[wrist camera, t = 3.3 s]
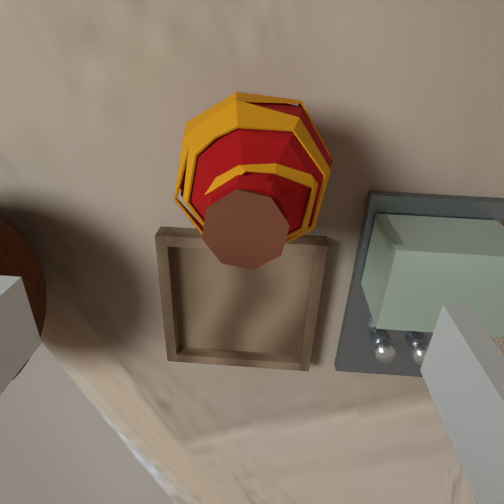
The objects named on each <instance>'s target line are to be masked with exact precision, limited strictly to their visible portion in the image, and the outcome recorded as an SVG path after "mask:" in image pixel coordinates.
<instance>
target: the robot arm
mask: <svg viewBox="0 0 504 504" xmlns="http://www.w3.org/2000/svg"><path fill="white" fill-rule="evenodd" d="M40 344H41V339H40V336H39V333H38V330H37V327H36V323H35V320H34V317H33V314H32V310H31V307H30V304H29V301H28V297H27V294H26V291H25V288H24V285H23V281H22V278H21V277H16V276H1V275H0V395H1V394H2V392H3V391H4V389H5V388H6V387H7V386H8V384H9V383H10V382H11V381H12V380H13V378H14V377H15V376H16V375H17V373H18V372H19V371H20V369H21V368H22V367H23V366H24V364H25V363H26V362H27V361H28V359H29V358H30V357H31V355H32V354H33V353H34V352H35V350H36V349H37V348H38V346H39V345H40ZM420 371H421V374H422V376H423V378H424V381H425V383H426V385H427V388H428V390H429V392H430V394H431V397H432V399H433V401H434V404H435V406H436V408H437V411H438V413H439V415H440V418H441V420H442V422H443V425H444V427H445V429H446V432H447V434H448V436H449V439H450V441H451V443H452V446H453V448H454V450H455V453H456V455H457V457H458V460H459V462H460V464H461V467H462V469H463V471H464V474H465V476H466V478H467V481H468V483H469V485H470V488H471V490H472V492H473V494H474V497H475V499H476V501H477V504H504V355H503V353H502V352H501V351H500V349H499V348H498V347H497V345H496V344H495V342H494V341H493V340H492V338H491V337H490V335H489V334H488V333H487V331H486V330H485V328H484V327H483V326H482V324H481V323H480V321H479V320H478V319H477V317H476V316H475V314H474V313H473V312H472V310H471V309H470V307H468V306H453V305H443V307H442V309H441V312H440V315H439V318H438V321H437V324H436V326H435V329H434V332H433V335H432V338H431V341H430V344H429V346H428V349H427V352H426V355H425V358H424V361H423V363H422V366H421V369H420Z"/></svg>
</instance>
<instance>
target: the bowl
mask: <svg viewBox="0 0 504 504" xmlns="http://www.w3.org/2000/svg"><path fill="white" fill-rule="evenodd" d="M0 275H1V276H16V277H21V278H22V281H23V285H24V288H25V291H26V294H27V297H28V301H29V304H30V307H31V310H32V314H33V317H34V320H35V323H36V327H37V330H38V333H39V336H41V332H42V328H43V324H44V320H45V313H46V285H45V280H44V276H43V272H42V269H41V266H40V264H39V262H38V260H37V258H36V256H35V254H34V253H33V251H32V249H31V247H30V246H29V245H28V244H27V243H26V241H25V240H24V239H23V238H22V237H21V236H20V235H19V234H18V233H17V232H16V231H15V230H14V229H13V228H12V227H11V226H9V225H8V224H6V223H5V222H4V221H2V220H1V219H0ZM28 360H29V359H28ZM27 362H28V361H27ZM27 362H26V363H27ZM26 363H25V364H24V366H25V365H26ZM24 366H23V367H24ZM23 367H22V368H21V369H20V371H19V372H18V373H17V375H18V374H19V373H20V372H21V370H22V369H23ZM17 375H16V376H17ZM16 376H15V377H16ZM15 377H14V378H15ZM14 378H13V379H14Z"/></svg>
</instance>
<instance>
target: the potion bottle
mask: <svg viewBox="0 0 504 504" xmlns="http://www.w3.org/2000/svg"><path fill="white" fill-rule="evenodd" d="M287 103H296V104H298V105H299V106H296V105H291V104H287ZM331 158H332V157H331V155H330V153H329V151H328V149H327V147H326V145H325V143H324V142H323V140H322V138H321V136H320V134H319V132H318V130H317V128H316V126H315V125H314V123H313V121H312V119H311V117H310V115H309V113H308V111H307V109H306V108H305V106H304V104H303V102H302V101H300V100H294V99H287V98H279V97H272V96H264V95H257V94H249V93H241V92H236V93H234V94H232V95H231V96H229V97H227V98H226V99H224V100H222V101H221V102H219V103H217V104H216V105H214V106H212V107H211V108H209V109H207V110H206V111H204V112H203V113H201V114H199V115H198V116H196V117H194V118H193V119H191V120H190V121H188V122H186V126H185V130H184V135H183V141H182V148H181V155H180V162H179V169H178V176H177V183H176V190H175V197H174V200H175V202H176V203H177V204H178V205H179V207H180V208H181V209H182V210H183V212H184V213H185V214H186V215H187V217H188V218H189V219H190V220H191V222H192V223H193V224H194V225H195V227H196V228H197V229H198V230H199V232H200V233H201V234H202V240H203V241H204V242H205V243H206V245H207V246H208V247H209V249H210V250H211V251H212V252H213V254H214V255H215V256H216V257H217V259H218V260H219V261H220V262H221V263H222V264H227V265H232V266H237V267H241V268H246V269H251V270H254V269H256V268H258V267H260V266H262V265H264V264H266V263H268V262H269V261H271V260H273V259H275V258H277V257H279V256H281V255H282V251H283V248H284V244H286V243H288V242H290V241H292V240H294V239H296V238H298V237H300V236H302V235H304V234H306V233H308V232H310V231H312V230H314V228H315V225H316V221H317V218H318V214H319V211H320V207H321V204H322V200H323V197H324V194H325V190H326V187H327V183H328V180H329V176H330V173H331V170H330V168H331V164H332V159H331ZM179 190H180V191H181V196H182V197H183V200H184V202H185V203H186V204H187V206H188V207H189V208H190V210H191V211H192V212H193V214H194V215H195V216H196V218H197V219H198V220H199V222H200V223H201V224H202V225H201V224H200V223H199V222H198V221H197V219H196V218H195V217H194V216H193V215H192V214H191V213H190V212H189V211H188V210H187V209H186V208H185V206H184V205H183V204H182V203H181V202H180V201H179V200H178V199H177V196H178V192H179Z"/></svg>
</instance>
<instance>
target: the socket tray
mask: <svg viewBox="0 0 504 504" xmlns="http://www.w3.org/2000/svg"><path fill="white" fill-rule="evenodd" d="M155 241H156V251H157V261H158V271H159V280H160V290H161V300H162V310H163V320H164V330H165V340H166V349H167V359H168V361H175V362H189V363H203V364H217V365H231V366H245V367H259V368H272V369H286V370H300V371H309V367H310V361H311V354H312V348H313V341H314V335H315V328H316V322H317V316H318V309H319V303H320V296H321V290H322V283H323V277H324V271H325V264H326V258H327V251H328V243H327V239H326V237H325V236H308V235H302V236H300V237H298V238H296V239H294V240H292V241H290V242H288V243H286V244H284V248H283V251H282V255H281V256H279V257H277V258H275V259H273V260H271V261H269V262H268V263H266V264H264V265H262V266H260V267H258V268H256V269H254V270H251V269H246V268H241V267H237V266H232V265H227V264H222V263H221V262H220V261H219V260H218V259H217V257H216V256H215V255H214V254H213V252H212V251H211V250H210V249H209V247H208V246H207V245H206V243H205V242H204V241H203V240H202V234H201V233H200V232H199V230H198V229H191V228H174V227H160V228H159V230H158V232H157V233H156V235H155Z"/></svg>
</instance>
